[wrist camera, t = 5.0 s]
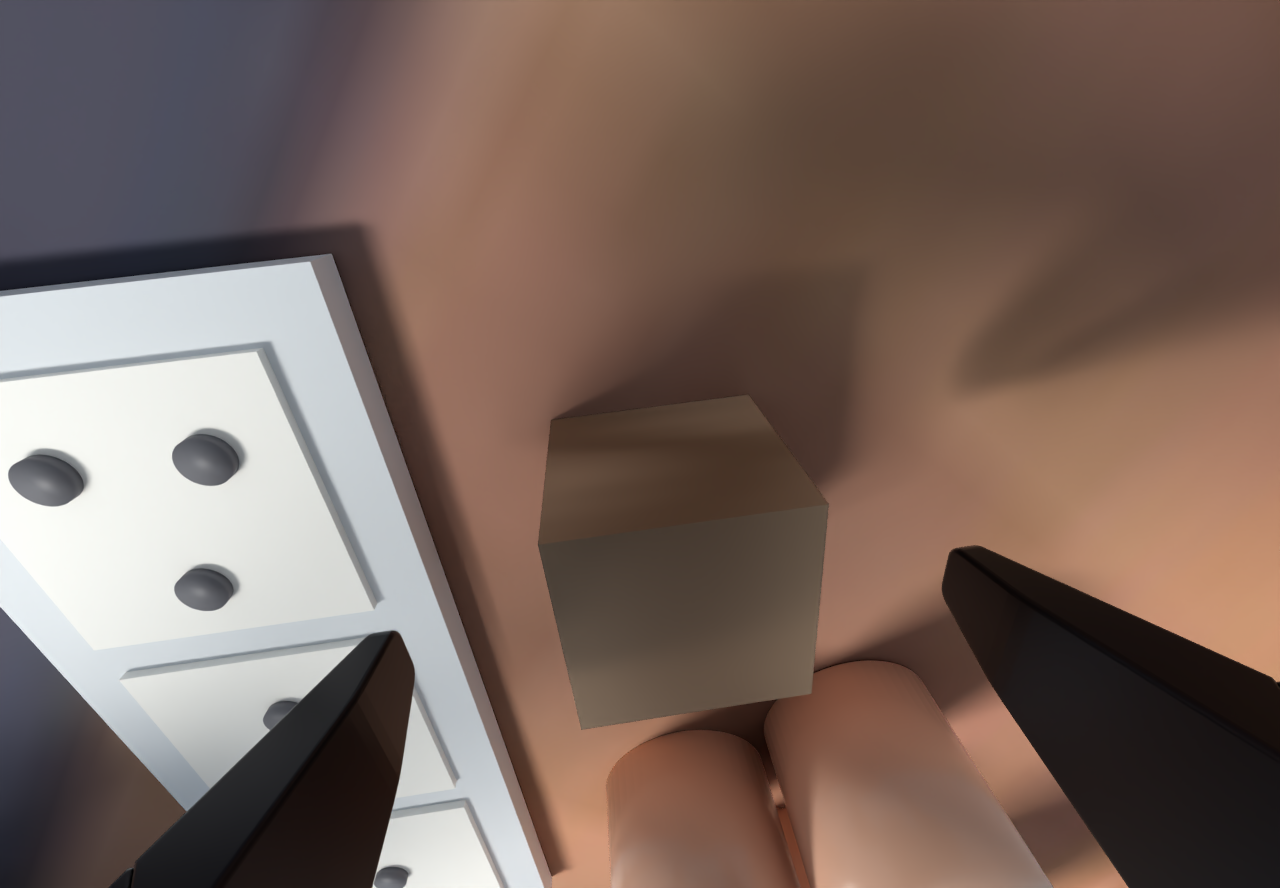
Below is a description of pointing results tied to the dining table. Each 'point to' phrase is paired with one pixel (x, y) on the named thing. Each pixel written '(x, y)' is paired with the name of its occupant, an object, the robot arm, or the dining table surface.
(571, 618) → the brown cube
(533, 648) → the dining table surface
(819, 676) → the peach rounded blob
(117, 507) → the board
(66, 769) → the dining table surface
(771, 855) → the peach rounded capsule
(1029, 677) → the robot arm
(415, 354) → the dining table surface
